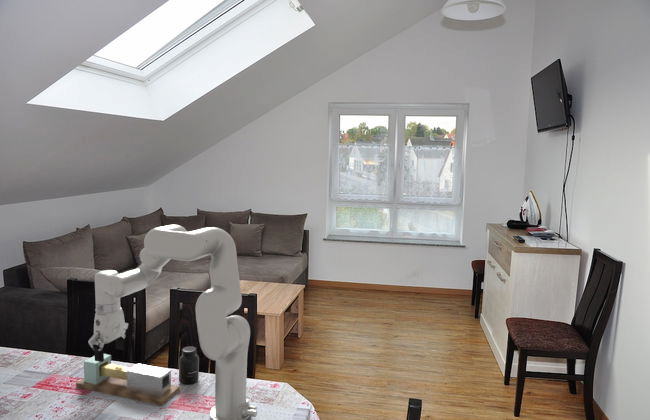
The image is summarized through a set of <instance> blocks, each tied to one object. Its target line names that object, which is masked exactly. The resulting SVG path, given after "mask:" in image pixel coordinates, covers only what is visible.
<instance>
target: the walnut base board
mask: <svg viewBox="0 0 650 420" xmlns="http://www.w3.org/2000/svg"><path fill="white" fill-rule="evenodd" d="M75 386H76V388H79V389H83V390H88V391H93V392H97V393H102V394H106V395H110V396H115V397H120V398H125V399H129V400H133V401H136V402H137V401H138V402H142V403H146V404H147V403H148V404H152V405H156V406H160V407H161V406H163V405H164V404H166V403H167V402H168V401H170V400H171V399H172V398H174V396H175V395H177V394H178V393H179V392H180V391H181V387H180V386H178V385H173V384H171V389H170V390H169V391H167V392H166V393H165V394H164V395H162V396H161V397H159V396H154V395H149V394H144V393H140V392H135V391H130V390H127V380H123V379H118V378H113V377H108V378H106V379H104V380H103V381H101V382H100V383H98V384H91V383H87V382H84V378H82V379H80V380H79V381H77V382H76V383H75Z"/></svg>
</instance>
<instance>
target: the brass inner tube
mask: <svg viewBox="0 0 650 420" xmlns="http://www.w3.org/2000/svg"><path fill="white" fill-rule="evenodd" d="M130 368H131V366H129V367H128V366H124V365H119V364H114V363H111V364H110V363H104V364H102V365H100V366H99V375H103V376H108V377H113V378H118V379H123V380H127V370H129V369H130Z"/></svg>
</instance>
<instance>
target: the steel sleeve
mask: <svg viewBox="0 0 650 420" xmlns="http://www.w3.org/2000/svg"><path fill="white" fill-rule="evenodd" d="M171 385H172V369H168V368H165V367H160V366H153V365H148V364H144V363H143V364H142V363H136V364H135V365H134V366H132V367H130V369H129V370H127V390H130V391H135V392H140V393H144V394H149V395H154V396H159V397H161V396H162V395H164V394H165V393H166V392H167V391H169V390H170V389H171Z"/></svg>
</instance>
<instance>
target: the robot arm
mask: <svg viewBox="0 0 650 420" xmlns="http://www.w3.org/2000/svg"><path fill="white" fill-rule="evenodd" d="M143 245H144V247H143V248H142V249H141V250H140V252H139V260H140V262H141V264H140V265H138V266H137V267H136V268H135V269H134V268H133V269H131V270H126V271H124V272H121V273H119V272H118V271H117V270H113V269H106V270H104V269H103V270H100V271H98V272H95V274H94V291H95V294H94V295H95V296H94V297H95V298H94V299H95V308H94V311H95V313H94V319H93V321H94V323H93V335H92V336H91V337H90V338H89V340H88V345H89V347H90V349H92V350H93V351H94V356H95V361H99V362H103V361H104V354H105V352H104V349H103V348H104V346H105V344H110V343H112V342H113V341H115V349H116V350H118V351H119V350H120V351H124V350H125V349H126V348H125V338H126V334H127V332H128V328H129V323H128V322H125V314H124V310H123V308H122V307H121V298H123V297H125V296H129V295H131V294H135V293H136V292H139V291H142V290H144V289H145V288H147V287H149V286H150V285H151V284H152V283H153V282H154V281H155V280H157V278H159V276H160V275H161V273H162V270H163V267H165V265H166V264H167V263H168V262H170V261H171V260H176V261H181V262H182V261H183V262H191V261H192V262H193V261H197V260H199V259H201V258H202V259H203V258H205V257H208V256H210V257H211V261H210V264H209V277H210V288H208V289H207V290H205V291H203V292H202V293H201V294H200V295H199V296H198V298H197V300H196V303H195V308H194V309H195V320H196V326H197V333H198V335H197V336H198V341H199V346H200V349H201V351H202V353H203V355H204V356H205V357H207V359H210V360H212V361H215V375H214V376H215V378H214V379H215V380H214V382H215V384H214V386H215V387H214V393H215V394H214V406H213V407H211V409H210V411H209V418H210V420H248V419H249V418H250V417H253V418H256V417H257V415H258V410H257V408H258V407H257V406H256V405H251V404H250V399H249V398H247V377H248V376H247V375H248V373H247V372H248V370H247V368H248V352H249V345H250V337H251V327H250V324H249V321H248V320H247V319H246V318H245V317H243V316H241V315H237V314H234V315H233V313H234V312H236V311H237V310H238V309H239V308H241V306H242V301H243V297H242V290H241V289H242V288H241V281H240V275H239V274H240V273H239V269H238V257H237V255H238V253H237V247H236V243H235V241H234V239H233V237H232V236H231V235H230V234H229V232H227V231H226V230H225V229H222V228H219V227H215V226H212V227H211V226H210V227H202V228H199V229H198V228H197V229H195V230H191V231H187V229H186V228H185V227H184V226H182V225H179V224H168V225H164V226H163V225H162V226H158V227H154V228H152V229H150V230H149V231H148V232H147V233H146V234H145V237H144V239H143ZM231 314H232V315H231ZM229 315H230V316H229Z"/></svg>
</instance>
